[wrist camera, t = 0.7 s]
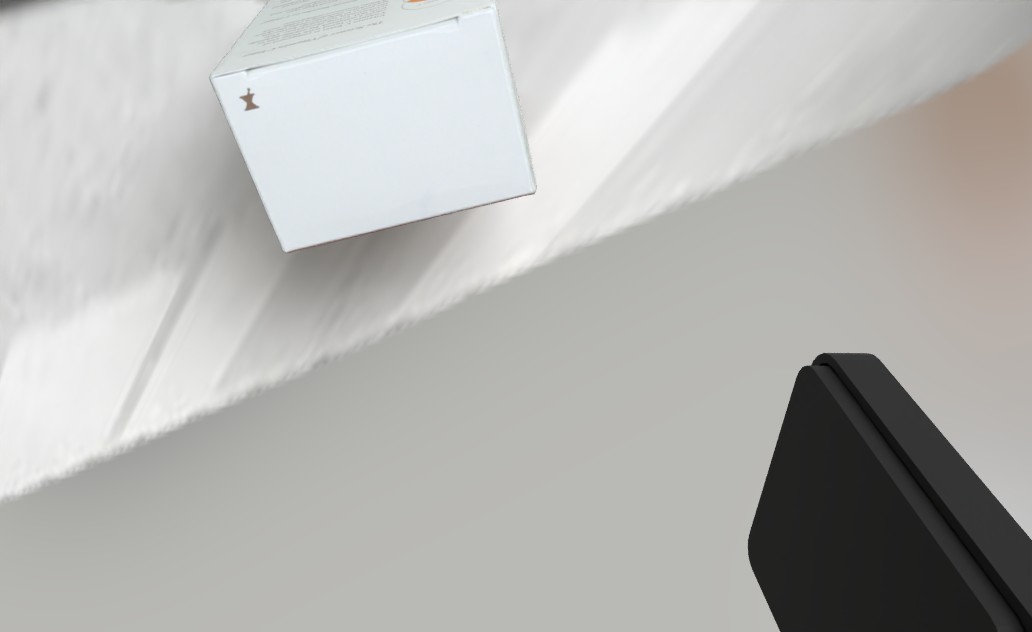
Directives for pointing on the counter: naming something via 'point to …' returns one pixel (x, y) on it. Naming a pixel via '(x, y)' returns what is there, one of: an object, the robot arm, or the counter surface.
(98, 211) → the counter surface
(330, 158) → the small box
